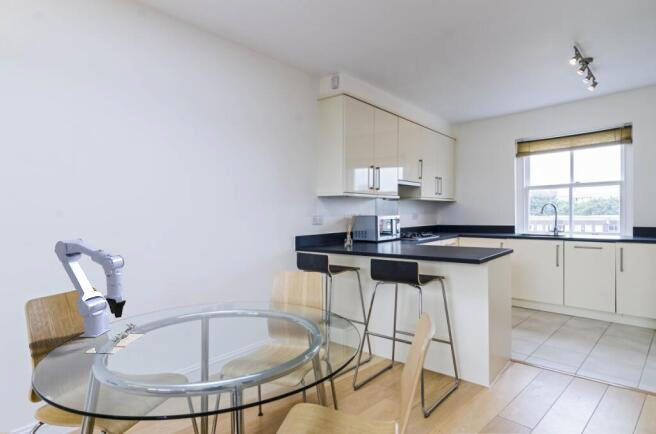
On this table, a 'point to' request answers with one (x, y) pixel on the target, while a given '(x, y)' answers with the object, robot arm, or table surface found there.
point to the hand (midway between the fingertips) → (116, 315)
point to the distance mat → (122, 342)
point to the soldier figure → (125, 332)
